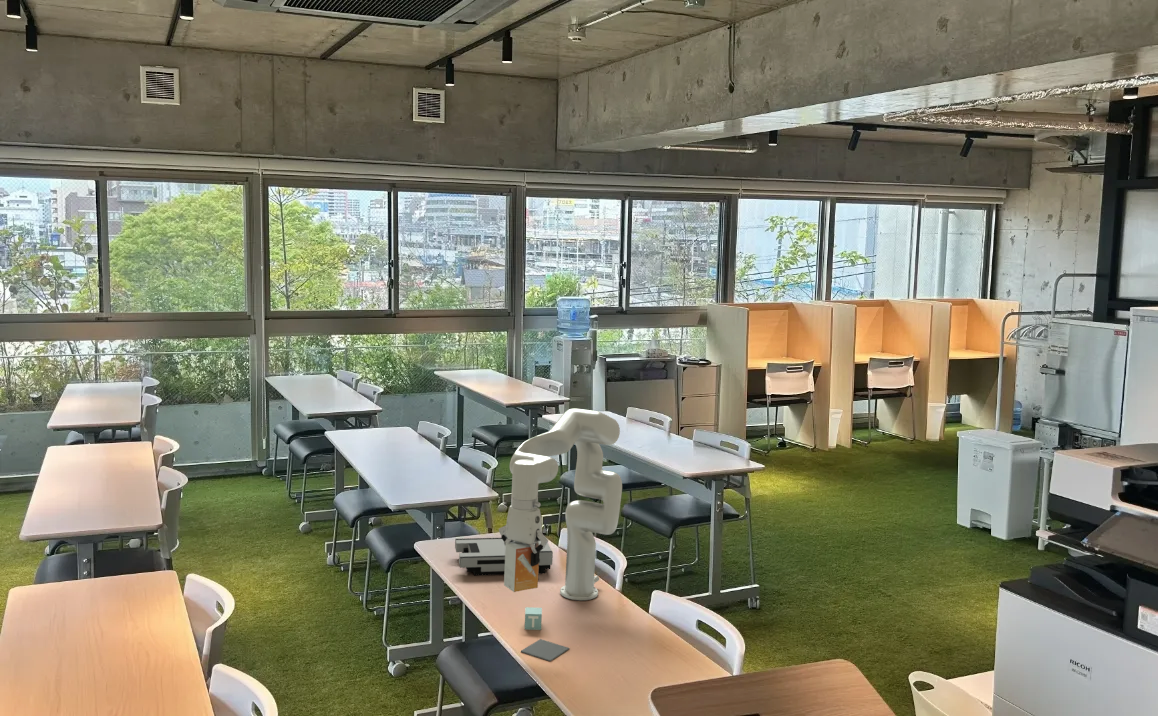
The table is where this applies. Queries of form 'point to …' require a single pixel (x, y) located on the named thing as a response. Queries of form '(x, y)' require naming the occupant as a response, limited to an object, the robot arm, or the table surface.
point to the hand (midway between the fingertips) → (522, 561)
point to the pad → (545, 650)
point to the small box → (519, 567)
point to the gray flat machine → (492, 556)
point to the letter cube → (533, 618)
